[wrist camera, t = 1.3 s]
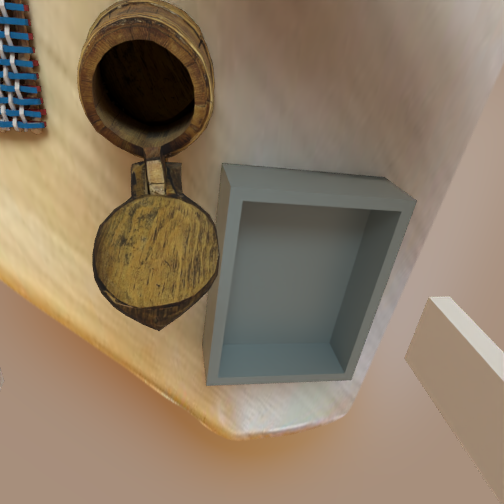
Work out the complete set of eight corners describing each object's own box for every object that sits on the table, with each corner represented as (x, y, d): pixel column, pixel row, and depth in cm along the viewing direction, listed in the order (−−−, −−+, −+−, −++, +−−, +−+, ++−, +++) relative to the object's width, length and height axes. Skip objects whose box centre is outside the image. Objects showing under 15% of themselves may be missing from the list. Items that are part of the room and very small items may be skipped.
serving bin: (222, 163, 33) (230, 186, 28) (385, 177, 36) (416, 200, 31) (202, 345, 42) (206, 385, 38) (332, 343, 46) (351, 380, 41)
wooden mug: (108, 192, 32) (53, 346, 17) (73, -5, 26) (-71, -42, 10) (217, 187, 34) (256, 324, 18) (211, -1, 27) (265, -30, 12)
